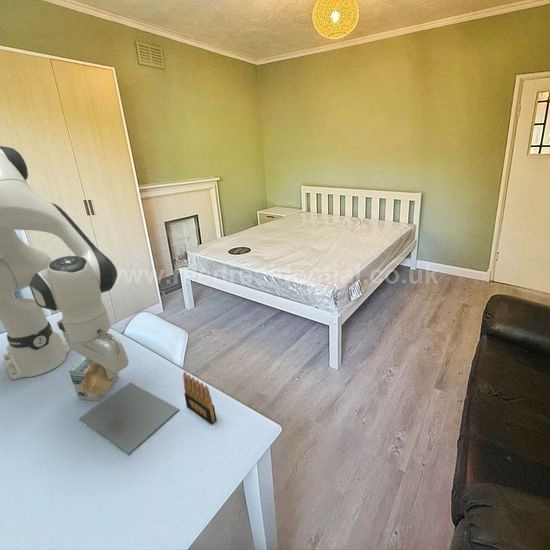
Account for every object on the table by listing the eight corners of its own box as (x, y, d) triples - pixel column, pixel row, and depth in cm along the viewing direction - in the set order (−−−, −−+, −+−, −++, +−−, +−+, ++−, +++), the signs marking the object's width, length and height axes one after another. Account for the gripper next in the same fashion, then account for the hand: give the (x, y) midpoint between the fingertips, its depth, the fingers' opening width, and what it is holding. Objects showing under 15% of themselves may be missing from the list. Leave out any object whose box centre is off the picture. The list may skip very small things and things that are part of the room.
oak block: (79, 386, 79) (95, 354, 81) (95, 388, 83) (110, 357, 85) (89, 392, 77) (106, 359, 79) (106, 394, 80) (121, 363, 82)
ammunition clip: (217, 420, 87) (211, 384, 82) (211, 424, 85) (205, 389, 81) (191, 402, 93) (184, 368, 88) (186, 406, 92) (179, 372, 87)
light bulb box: (97, 402, 95) (87, 372, 91) (77, 399, 97) (66, 370, 93) (120, 377, 105) (111, 349, 101) (102, 375, 106) (92, 347, 102)
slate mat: (79, 419, 90) (79, 417, 89) (130, 383, 102) (130, 382, 102) (128, 455, 78) (128, 453, 78) (179, 410, 91) (179, 409, 90)
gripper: (127, 329, 73) (141, 379, 78) (78, 309, 83) (93, 354, 89) (101, 344, 68) (117, 395, 74) (52, 321, 79) (70, 367, 84)
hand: (104, 372), depth 81 cm, fingers closed on oak block, 4 cm apart
